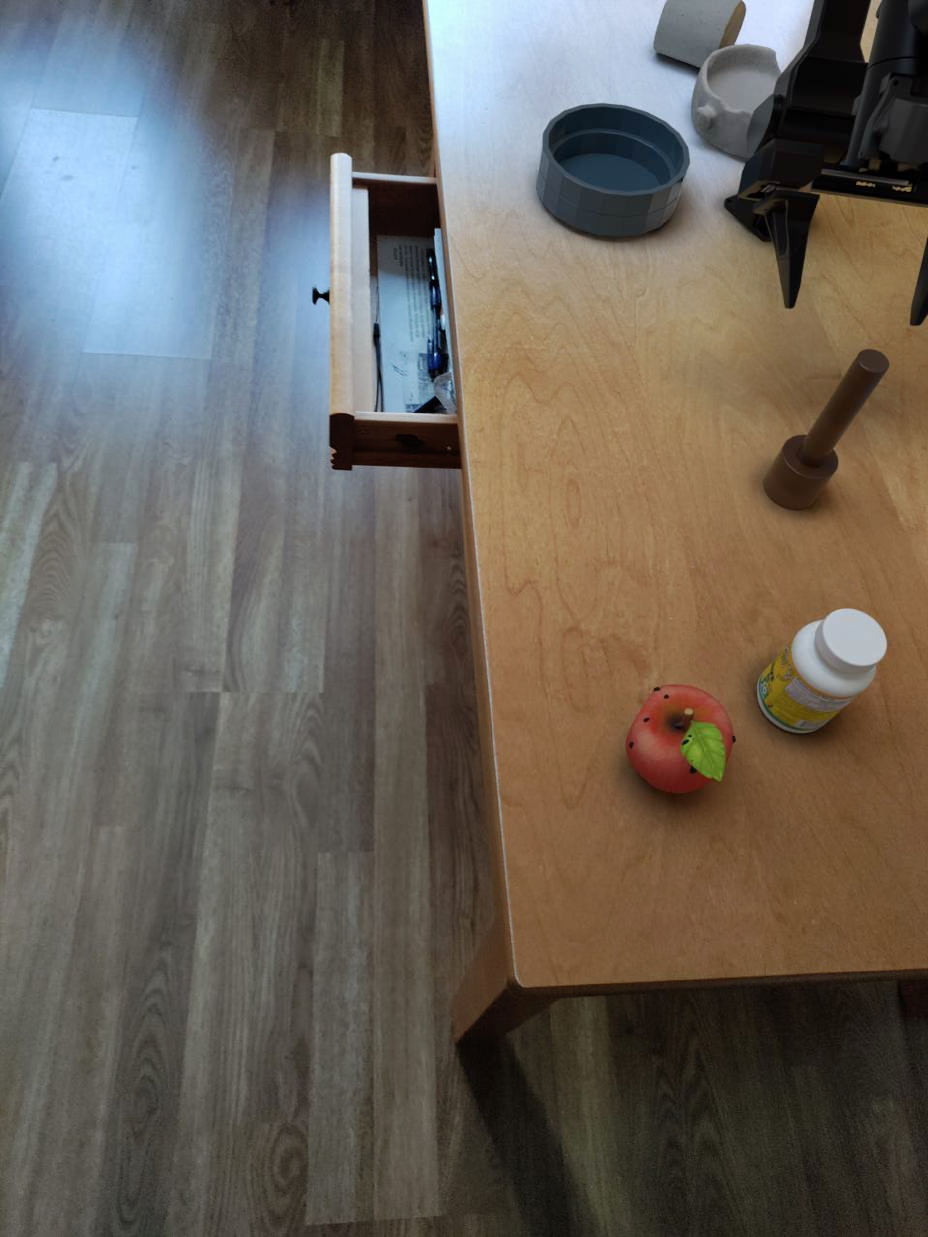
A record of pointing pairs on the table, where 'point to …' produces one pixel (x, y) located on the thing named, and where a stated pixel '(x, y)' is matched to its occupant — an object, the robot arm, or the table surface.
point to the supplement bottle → (821, 670)
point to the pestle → (823, 437)
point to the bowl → (611, 169)
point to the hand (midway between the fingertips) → (852, 316)
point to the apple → (680, 739)
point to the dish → (732, 94)
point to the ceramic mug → (698, 28)
